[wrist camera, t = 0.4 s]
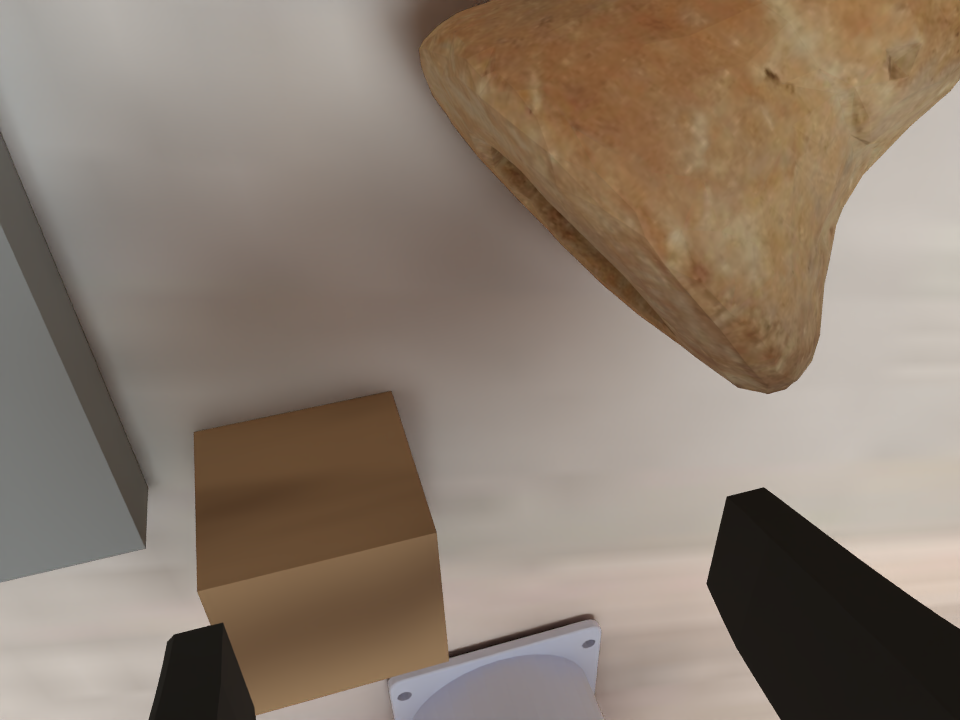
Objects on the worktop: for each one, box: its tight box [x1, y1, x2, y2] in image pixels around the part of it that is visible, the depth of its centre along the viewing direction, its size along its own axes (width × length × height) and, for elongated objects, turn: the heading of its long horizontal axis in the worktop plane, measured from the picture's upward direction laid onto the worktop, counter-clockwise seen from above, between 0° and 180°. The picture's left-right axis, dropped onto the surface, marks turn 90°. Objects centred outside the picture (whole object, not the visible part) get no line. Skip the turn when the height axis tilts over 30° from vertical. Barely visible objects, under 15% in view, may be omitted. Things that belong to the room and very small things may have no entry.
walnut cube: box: [194, 391, 449, 716], centre depth 20 cm, size 5×5×5 cm
